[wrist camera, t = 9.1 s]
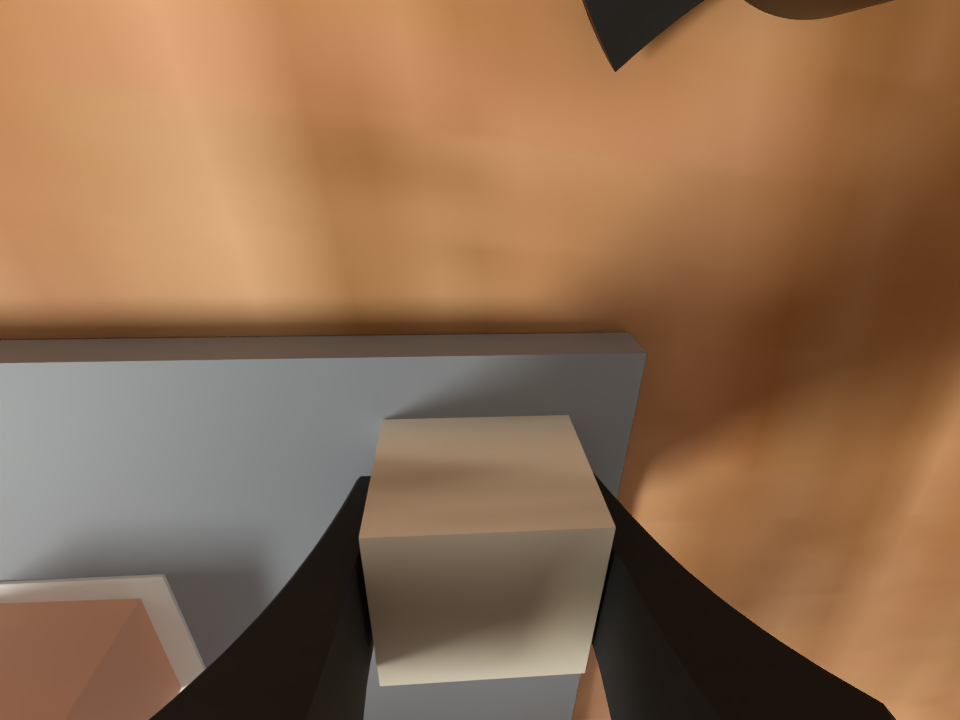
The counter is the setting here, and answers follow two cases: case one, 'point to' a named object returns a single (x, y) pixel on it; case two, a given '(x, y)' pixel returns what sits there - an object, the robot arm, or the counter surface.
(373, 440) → the board
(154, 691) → the base block
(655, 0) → the duct tape
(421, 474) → the top block
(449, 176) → the counter surface
